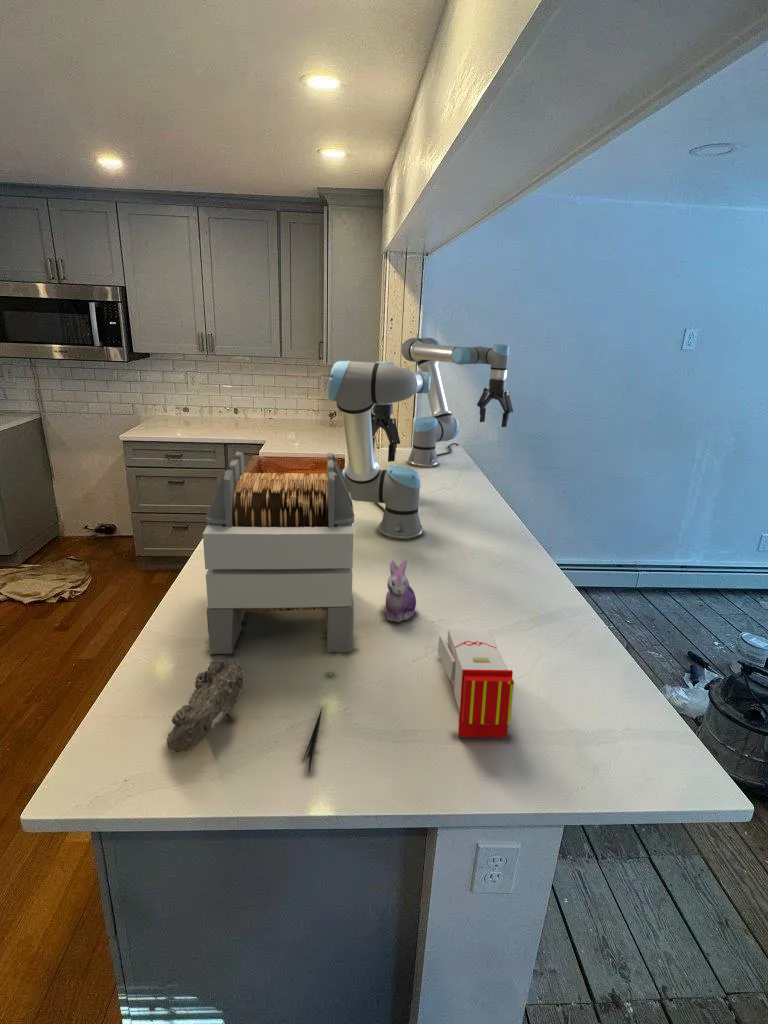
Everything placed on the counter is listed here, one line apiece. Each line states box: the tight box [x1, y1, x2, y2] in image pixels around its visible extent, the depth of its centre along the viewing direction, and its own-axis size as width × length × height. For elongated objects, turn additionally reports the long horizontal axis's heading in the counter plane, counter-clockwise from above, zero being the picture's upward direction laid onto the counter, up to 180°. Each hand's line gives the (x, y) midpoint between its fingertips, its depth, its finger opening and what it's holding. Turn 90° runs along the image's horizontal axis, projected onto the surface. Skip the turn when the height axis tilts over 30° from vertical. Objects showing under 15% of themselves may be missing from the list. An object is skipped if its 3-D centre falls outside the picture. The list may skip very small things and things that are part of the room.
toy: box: [437, 628, 515, 738], centre depth 117 cm, size 12×13×30 cm
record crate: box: [202, 451, 355, 655], centre depth 137 cm, size 34×33×41 cm
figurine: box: [384, 558, 417, 623], centre depth 145 cm, size 9×10×15 cm
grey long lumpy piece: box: [166, 658, 245, 754], centre depth 106 cm, size 22×10×15 cm
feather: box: [301, 673, 332, 771], centre depth 108 cm, size 2×28×2 cm
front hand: (380, 457), depth 223 cm, fingers open, 13 cm apart
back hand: (492, 424), depth 270 cm, fingers open, 13 cm apart
